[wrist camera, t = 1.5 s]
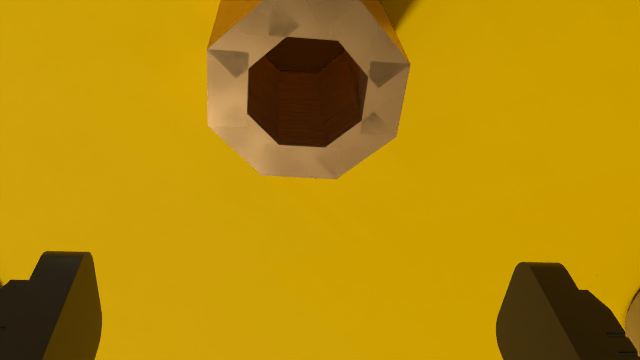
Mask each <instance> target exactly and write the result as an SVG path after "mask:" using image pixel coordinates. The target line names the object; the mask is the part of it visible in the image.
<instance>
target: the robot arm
mask: <svg viewBox="0 0 640 360" xmlns="http://www.w3.org/2000/svg"><path fill="white" fill-rule="evenodd" d="M101 328H102V312H101V305H100V299H99V293H98V287H97V281H96V275H95V268H94V262H93V258H92V255H91V253H90V252H64V251H46V252H44V253H43V254H42V255H41V257H40V259H39V261H38V263H37V265H36V267H35V269H34V271H33V273H32V275H31V277H30V279H29V280H10V281H9V282H8V283H7V284H6V285H4V286H3V287H2V288H1V289H0V360H94V359H95V356H96V353H97V349H98V346H99V342H100V337H101ZM625 330H626V335H627V337H626V336H625V331H624V330H623V328H622V327H621V325H620V324H619V322H618V320H617V319H616V317H615V316H614V314H613V313H612V311H611V310H610V309H609V308H608V307H607V306H605V305H604V304H603V303H602V302H601V301H600V300H598V299H597V298H596V297H595V296H594V295H593V294H592V293H590V292H589V291H588V290H579V289H578V287H577V286H576V284H575V283H574V281H573V279H572V278H571V276H570V275H569V273H568V271H567V270H566V268H565V267H564V266H563V265H562V264H560V263H542V262H521V263H519V264H518V265H517V266H516V268H515V270H514V272H513V275H512V278H511V281H510V283H509V286H508V289H507V292H506V295H505V297H504V300H503V303H502V306H501V309H500V311H499V314H498V317H497V322H496V337H497V343H498V347H499V350H500V352H501V355H502V357H503V360H640V292H639V293H638V295H637V296H636V298H635V299H634V301H633V302H632V304H631V306H630V308H629V311H628V313H627V316H626V323H625Z"/></svg>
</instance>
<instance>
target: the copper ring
mask: <svg viewBox="0 0 640 360" xmlns="http://www.w3.org/2000/svg"><path fill="white" fill-rule="evenodd" d="M286 37H297V38H310V39H324V40H337V41H339V43H340V44H341V45H342V46H343V47H344V48H345V49H344V51H343V52H342V53H341V54H339V55H338V56H337V57H336V58H334V59H333V60H332V61H331V62H329V63H328V64H327V65H326V66H324V67H323V68H322V69H320V70H319V71H318V72H317V73H305V72H290V71H279V70H278V69H277V68H276V67H275V66H274V65H273V64H272V62H271V61H270V60H269V59H268V58H267V57H266V56H265V54H266V53H268V52H269V51H270V50H271V49H272V48H274V47H275V46H276V45H277V44H278V43H280V42H281V41H282V40H283V39H284V38H286ZM409 69H410V62H409V60H408V58H407V56H406V54H405V52H404V49H403V47H402V45H401V43H400V41H399V39H398V37H397V35H396V33H395V31H394V29H393V26H392V24H391V22H390V20H389V18H388V16H387V14H386V12H385V10H384V8H383V5H382V3H381V2H380V1H379V0H221V2H220V5H219V9H218V12H217V16H216V20H215V23H214V27H213V30H212V34H211V37H210V41H209V44H208V48H207V92H208V126H209V127H210V128H211V129H212V130H213V131H214V132H215V133H216V134H218V135H219V136H220V137H221V138H222V139H223V140H224V141H225V142H226V143H227V144H228V145H229V146H231V147H232V148H233V149H234V150H235V151H236V152H237V153H238V154H239V155H240V156H241V157H242V158H244V159H245V160H246V161H247V162H248V163H249V164H250V165H251V166H252V167H253V168H254V169H255V170H256V171H258V172H259V173H260V174H261V175H263V176H283V177H302V178H322V179H337V178H339V177H340V176H341V175H343V174H344V173H346V172H347V171H348V170H350V169H351V168H353V167H354V166H355V165H357V164H358V163H360V162H361V161H363V160H364V159H365V158H367V157H368V156H370V155H371V154H372V153H374V152H375V151H377V150H378V149H380V148H381V147H382V146H384V145H385V144H387V143H388V142H389V141H391V140H392V139H394V138H395V137H396V135H397V130H398V125H399V120H400V115H401V110H402V105H403V99H404V94H405V89H406V84H407V79H408V74H409Z"/></svg>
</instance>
